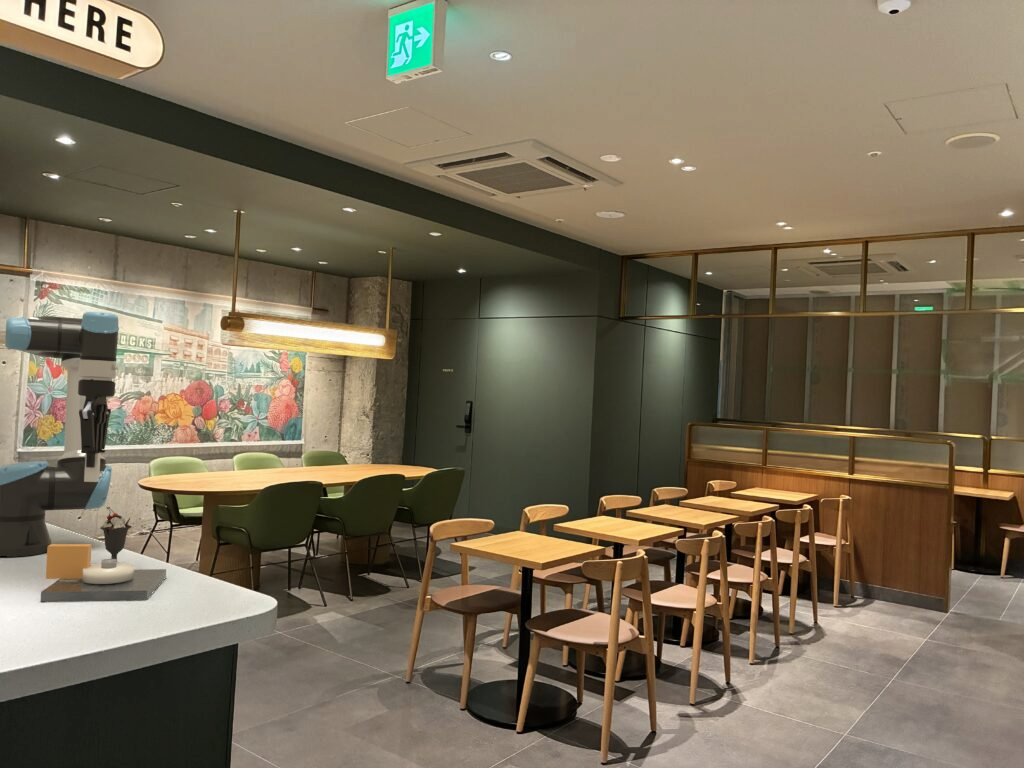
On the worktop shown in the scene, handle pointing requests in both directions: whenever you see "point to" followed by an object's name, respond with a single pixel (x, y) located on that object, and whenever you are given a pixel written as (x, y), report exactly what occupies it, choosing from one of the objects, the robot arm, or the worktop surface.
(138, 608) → the worktop surface
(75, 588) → the panel
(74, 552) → the dial
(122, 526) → the sundae
